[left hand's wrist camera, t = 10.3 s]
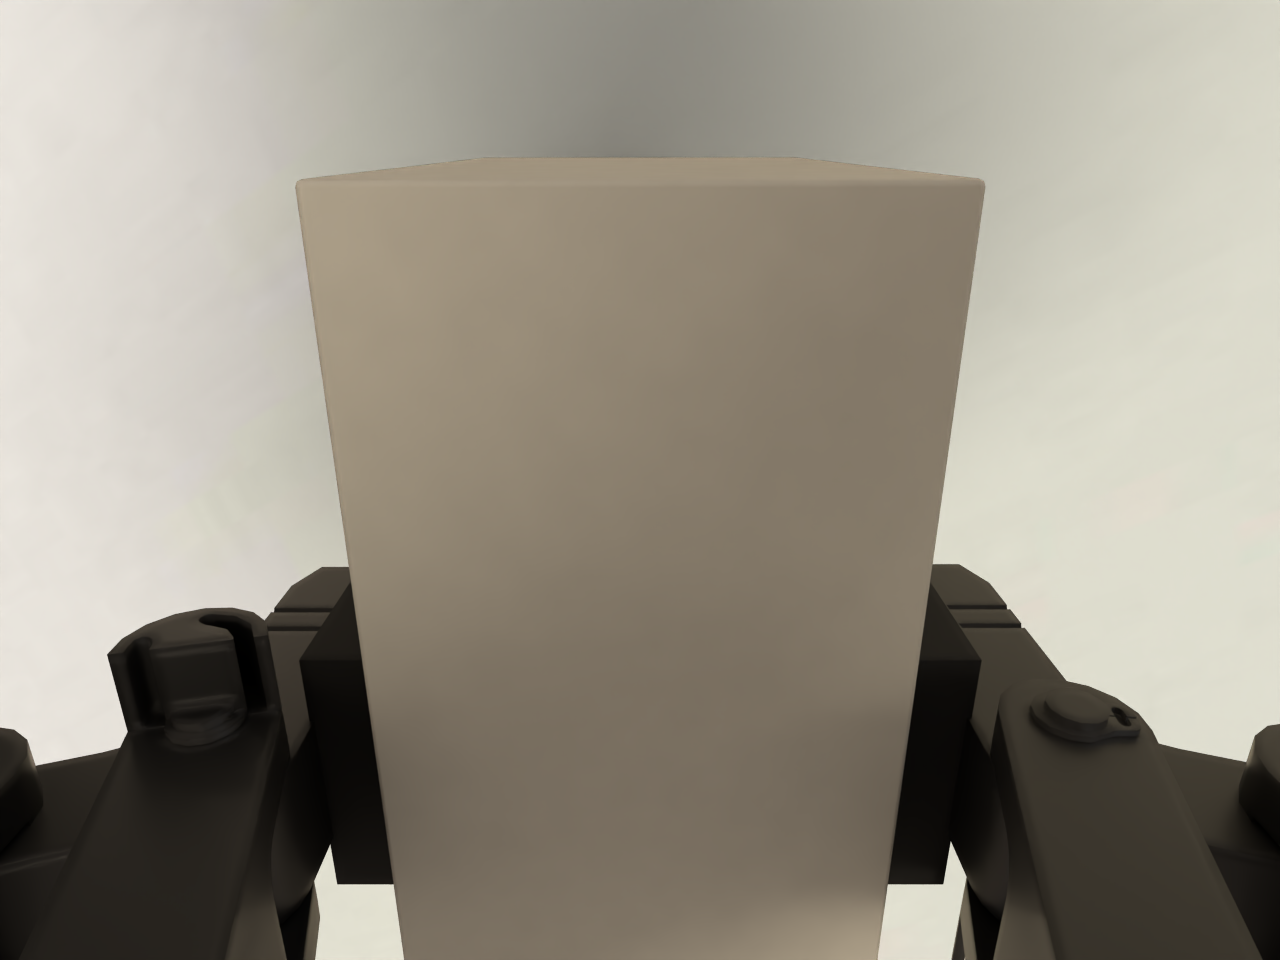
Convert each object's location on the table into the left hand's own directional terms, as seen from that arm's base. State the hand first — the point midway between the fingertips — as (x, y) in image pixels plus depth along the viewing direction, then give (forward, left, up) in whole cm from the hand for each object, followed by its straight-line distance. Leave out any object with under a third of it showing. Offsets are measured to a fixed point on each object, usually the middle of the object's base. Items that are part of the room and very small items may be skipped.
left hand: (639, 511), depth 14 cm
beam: (+18, +8, -1) cm, 20 cm away
